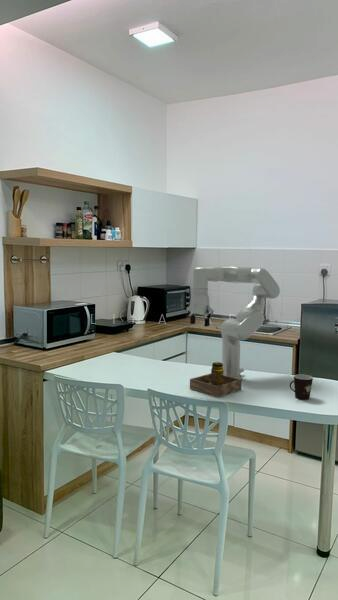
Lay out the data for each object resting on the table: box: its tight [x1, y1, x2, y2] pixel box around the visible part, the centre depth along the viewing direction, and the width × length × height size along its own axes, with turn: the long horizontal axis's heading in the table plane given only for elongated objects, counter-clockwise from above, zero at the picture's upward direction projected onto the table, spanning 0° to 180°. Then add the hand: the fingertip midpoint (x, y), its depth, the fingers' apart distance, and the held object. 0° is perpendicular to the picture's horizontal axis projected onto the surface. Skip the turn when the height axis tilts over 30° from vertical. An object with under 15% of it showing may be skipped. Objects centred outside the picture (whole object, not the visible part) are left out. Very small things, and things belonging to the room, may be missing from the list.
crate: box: [189, 372, 243, 398], centre depth 225 cm, size 18×18×5 cm
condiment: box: [210, 361, 224, 386], centre depth 225 cm, size 7×8×12 cm
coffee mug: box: [289, 373, 314, 401], centre depth 213 cm, size 12×9×10 cm
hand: (199, 325), depth 233 cm, fingers open, 9 cm apart
